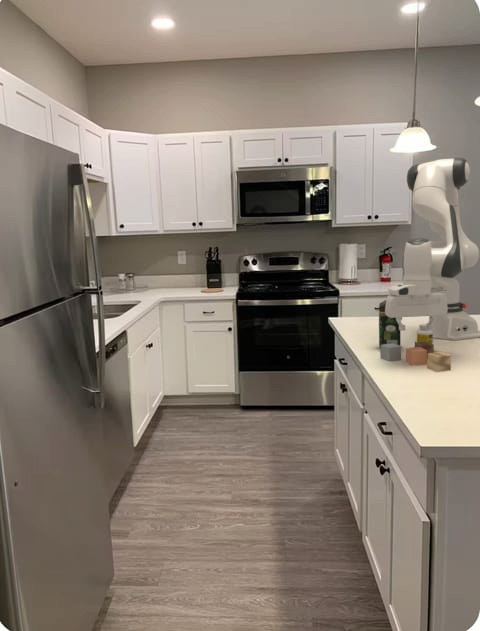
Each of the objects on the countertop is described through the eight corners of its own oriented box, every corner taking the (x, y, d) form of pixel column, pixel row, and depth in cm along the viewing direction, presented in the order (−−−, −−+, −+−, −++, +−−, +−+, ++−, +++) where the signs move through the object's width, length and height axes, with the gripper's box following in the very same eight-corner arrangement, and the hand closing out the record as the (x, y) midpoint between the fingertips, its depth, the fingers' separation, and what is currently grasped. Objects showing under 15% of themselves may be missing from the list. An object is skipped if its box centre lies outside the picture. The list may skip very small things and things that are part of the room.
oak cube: (440, 366, 160) (440, 351, 159) (450, 370, 155) (451, 355, 154) (427, 368, 159) (427, 353, 158) (437, 372, 154) (437, 356, 153)
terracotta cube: (419, 361, 167) (420, 346, 166) (426, 364, 162) (426, 350, 161) (405, 361, 167) (406, 347, 166) (412, 365, 162) (412, 351, 161)
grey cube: (392, 356, 174) (392, 343, 173) (401, 360, 170) (401, 346, 169) (380, 358, 173) (380, 344, 172) (389, 361, 168) (389, 347, 167)
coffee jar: (378, 345, 191) (378, 298, 188) (399, 345, 189) (400, 298, 185) (378, 351, 182) (378, 302, 178) (400, 352, 180) (401, 302, 176)
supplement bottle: (430, 353, 176) (431, 326, 175) (415, 351, 179) (415, 325, 178) (433, 349, 181) (434, 323, 179) (418, 348, 184) (418, 322, 182)
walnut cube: (428, 355, 174) (429, 341, 173) (433, 358, 169) (433, 344, 168) (414, 355, 175) (414, 341, 174) (418, 359, 170) (419, 345, 169)
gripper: (442, 286, 164) (441, 326, 166) (383, 288, 162) (383, 329, 165) (452, 288, 158) (450, 329, 160) (390, 290, 156) (390, 332, 159)
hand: (415, 329), depth 162 cm, fingers open, 8 cm apart
